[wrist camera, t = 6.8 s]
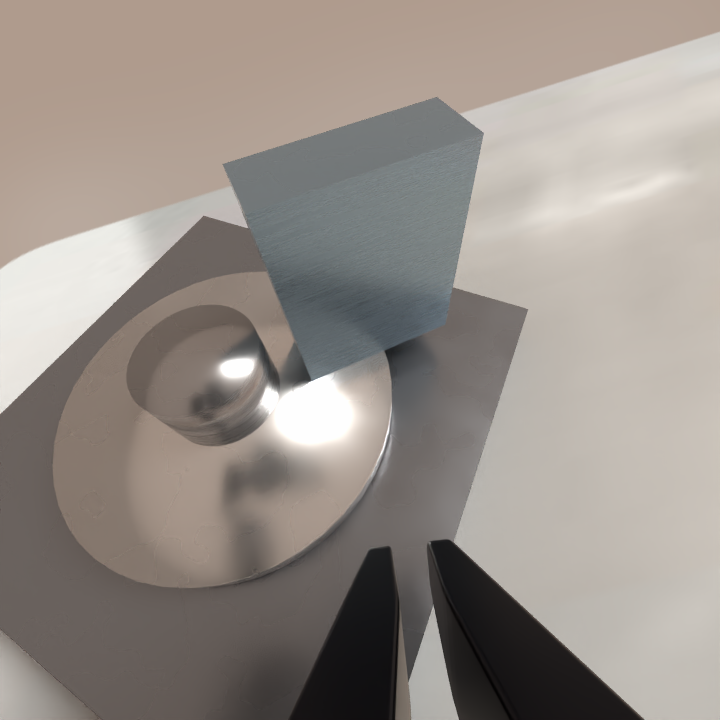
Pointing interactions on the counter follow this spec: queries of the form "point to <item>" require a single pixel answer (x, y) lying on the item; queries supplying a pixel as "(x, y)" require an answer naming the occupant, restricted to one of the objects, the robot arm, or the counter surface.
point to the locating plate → (271, 591)
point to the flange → (271, 360)
